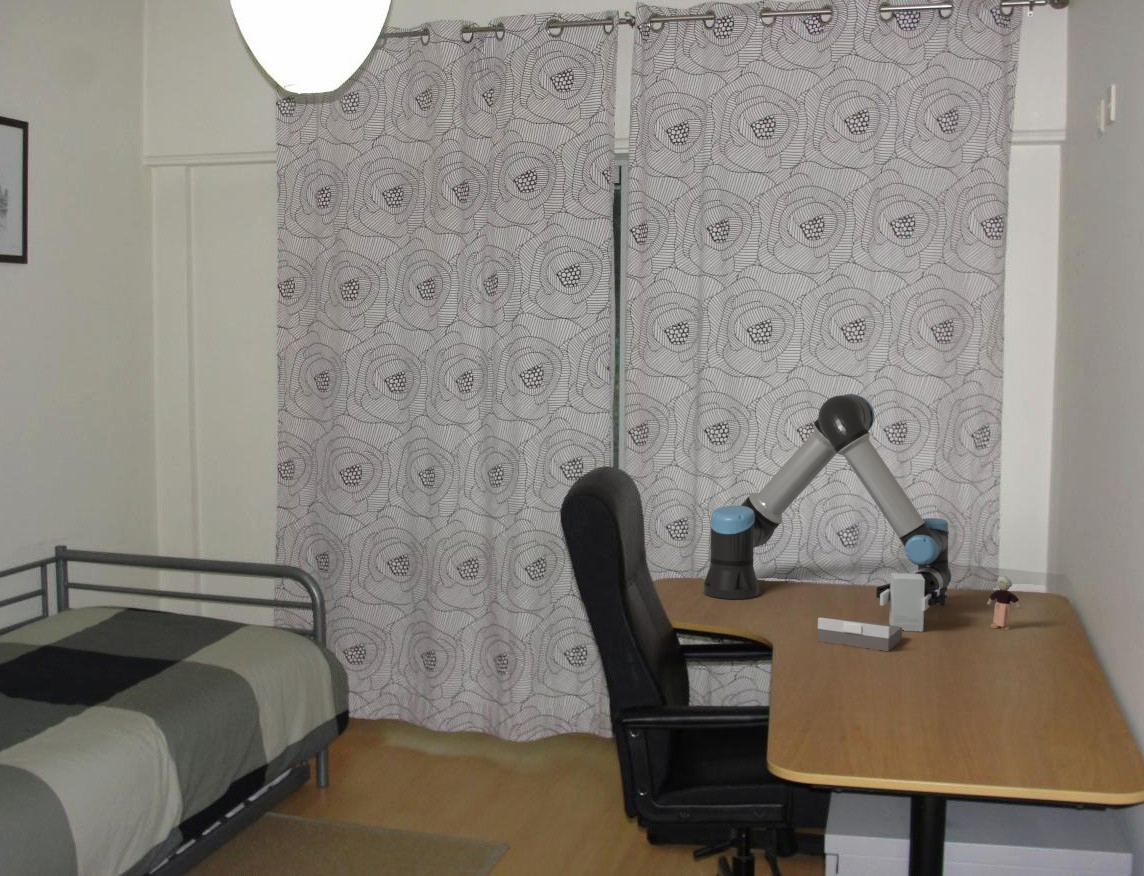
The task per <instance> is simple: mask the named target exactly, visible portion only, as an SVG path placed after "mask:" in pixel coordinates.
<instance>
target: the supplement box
mask: <svg viewBox="0 0 1144 876" xmlns="http://www.w3.org/2000/svg"><path fill="white" fill-rule="evenodd" d="M924 592H925V579H924V578H923V576H922V575H921V574H915V573H907V572H906V573H902V572H891V573H890V601H889V619H888V623H889V625H891V626H899V627H902V630H904V631H903V632H918V631H919V633H922V632H924V618H925V611H922V610H921V607H922V598H924Z"/></svg>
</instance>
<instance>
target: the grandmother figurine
mask: <svg viewBox="0 0 1144 876" xmlns="http://www.w3.org/2000/svg"><path fill="white" fill-rule="evenodd" d="M997 586H998V589H997V590H995V591H993V593H991V595H990V596H989V598H988V601H987V605H988V606H991V605H992V604H993V602H994V601H995V600H996V602H995V604H994V609H993V610H994V612H993V623H991V624H990V626H989V627H990V628H991V629H999V627H1000V629H1001V630H1002V631H1003V630H1004V631H1010V630H1011V627H1010V625H1011V618H1012V610H1011V609H1012V604H1011V602H1012V603H1013V604H1014V605H1015V607H1016V609H1021V608H1022V606H1021V605H1020V602H1019V601H1020V599H1019V598H1018V597H1017V596H1016V595H1015V594H1014V593H1013V592H1011V591H1008V590H1009V589H1010V588H1011V587H1013V582H1012V581H1011V579H1010V578H1009V577H1007V576H1004V575H1003V576H1000V575H999V577H998V578H997Z"/></svg>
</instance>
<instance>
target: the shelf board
mask: <svg viewBox="0 0 1144 876" xmlns="http://www.w3.org/2000/svg"><path fill="white" fill-rule="evenodd" d="M902 640H903V631H902V627H899V626H891V625H890V624H882V623H876V622H868V621H861V620H854V619H852V620H851V619H845V618H837V617H833V618H829V617H828V618H826V617H818V618H817V641H820V642H819V643H824V642H828V643H827V644H831V643H836V644H835V645H838V644H845V645H851V646H856V647H855V648H858V647H863V648H862V649H865V648H870V649H869V650H872V649H877V650H876V651H879V650H884V651H883V652H886V651H889V650H890V649H891V650H892V649H893V648H894V647H895V646H897V645H898V644H899V643H900V642H901V641H902ZM899 641H900V642H899ZM898 642H899V643H898ZM897 643H898V644H897ZM896 644H897V645H896ZM851 646H850V647H851ZM891 650H890V651H891ZM890 651H889V652H890Z"/></svg>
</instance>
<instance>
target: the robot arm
mask: <svg viewBox="0 0 1144 876" xmlns="http://www.w3.org/2000/svg"><path fill="white" fill-rule="evenodd" d="M874 420H875V411H874V409H873V406H872V404H871V403H870V402H869V401H868V400H867V399H866V398H865V397H863V396H861V395H858V394H855V393H847V394H841V395H839V394H838V395H835V396H832V397H830V398H828V399H827V400H825V401H824V403H822V405H821V407H820V409H819V411H818V418H817V419H816V420H815V421H814V422H813V432H812V433H811V434H810V435H809V436H808V437H807V438H806V440H805V441H804V442H803V443H802V444H801V446H799V447H798V449H796V451H795V452H794V453H793V454H792V455H791V457H790V458H789V459H787V461H786V462H785V463H784V464H783V465H782V466H781V468H780V469H778V471H777V472H776V473H775V475H773V477H771V479H770V480H769V481H768V482H767V483H766V484H765V485H764V487H763V488H762V489H761V490H760V491H759V493H750V494H749V495H748V497H747V498H746V499H744V501H743V502H742V503H741V504H740V505H726V506H720V507H717V508H716V509H714V510H713V511H712V512H711V519H710V522H709V523H710V525H709V526H710V554H709V555H710V558H709V559H710V562H709V568H708V569H707V573H706V577H705V579H704V581H703V587H702V588H703V594H704V595H706V596H709V597H713V598H718V599H728V600H746V599H753V598H756V597H759V596H760V584H759V582H758V578H757V577H758V576H757V574H756V571H755V567H754V550H755V549H754V548H756V547H760V546H763V545H764V544H766V543H767V542H768V541H769V540H770V539H771V538H772V537H773V535H774V532H775V531H776V529H777V528H778V526H780V524H782V522H783V513H784V512H785V511H786V510H787V509H788V508H789V507H790V505H792V503H793V502H794V501H795V500H796V499H797V498H798V497H799V496H800V495H801V494H802V493H803V492H804V491H805V489H806V488H807V487H808V486H809V485H810V484H811V482H813V481H814V479H815V478H817V476H818V475H820V472H822V470H824V469H825V467H826V466H827V465H828V464H829V463H830V462H831V461H832V460H833V458H835V456H836V455H839V456H843V457H844V458H845V460H846V462H847V464H848V465H849V466H850V467H851V469H852V470H853V472H854V474H856V476H857V478H858V479H859V481H860V482H861V484H862V485H863V487H864V488H865V490H866V491H867V493H868V494H869V496H870V498H871V499H873V502H874V503H875V505H876V506H877V507H878V510H880V512H881V514H882V515H883V517H884V518H885V519H886V521H887V522H888V524H889V526H890V527H891V529H892V530H893V531H894V533H895V534H896V536H897V537H898V539H899V540H900V542H901V543H902V545H903V546H904V552H905V555H906V558H907V559H908V561H909V562H911V563H912V564H913V565H917V571H916V572H914V574H921V575H922V576H923V578H924V579H925V592H924V598H922V607H921V610H922V611H924V612H925V611H926V610H928V609H929V608H930V607H934V606H937V605H938V604H939V605H940V606H941V607H944V606H946V599H947V598H948V586H949V584H950V583H951V581H952V571H951V569H950V568H949V534H950V532H949V523H948V521H947V520H946V519H943V518H934V517H933V518H932V517H930V518H929V517H928V518H923V517H922V515H921V514H920V513H919V511H918V510H917V508H916V507H915V505H914V504H913V502H912V501H911V499H910V498H909V496H908V495H907V494H906V492H905V490H904V489H903V487H902V486H901V485H900V483H899V482H898V480H897V479H896V477H895V475H894V474H893V473H892V471H891V470H890V469H889V467H888V466H887V464H886V462H885V461H884V459H883V458H882V457H881V455H880V453H879V452H878V450H877V449H876V448H875V446H874V445H873V444H872V442H871V440H870V436H871V434H870V432H869V431H870V430H871V428H872V426H873V425H874ZM890 583H891V582H890ZM890 583H886V584H882V585H880V586H876V589H875V591H876V593H875V594H876V596H875V597H876V598H877V599H879V606H880V607H881V606H884V605H886V604H888V602H889V603H890Z"/></svg>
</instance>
